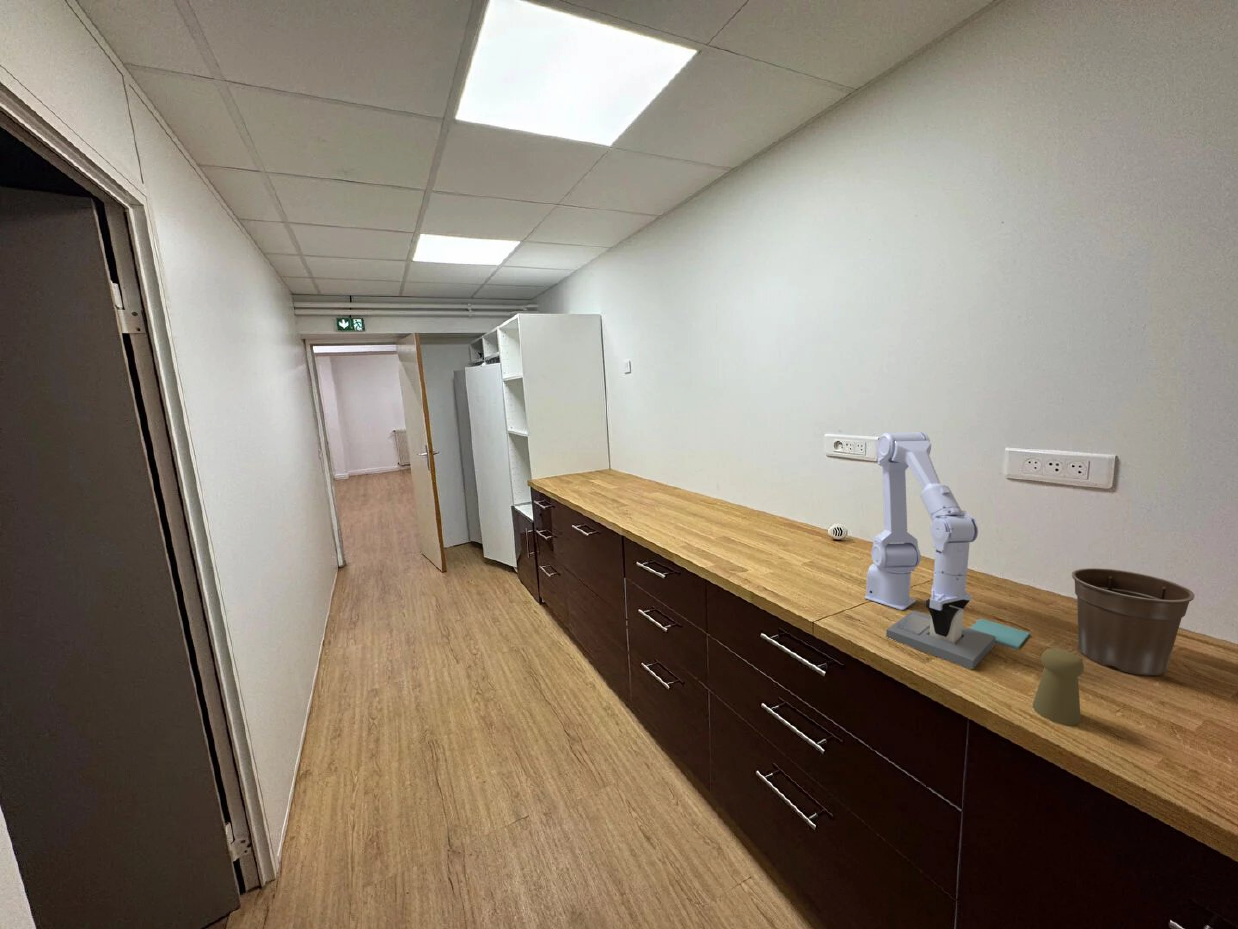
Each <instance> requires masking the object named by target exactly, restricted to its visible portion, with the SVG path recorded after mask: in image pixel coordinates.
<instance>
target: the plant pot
mask: <svg viewBox="0 0 1238 929" xmlns="http://www.w3.org/2000/svg"><path fill="white" fill-rule="evenodd" d="M1071 577H1072V579H1073V580H1074V594H1075V595H1076V598H1077V599H1076V600H1077V604H1076V605H1077V637H1078V638H1077V640H1078V642H1077V647H1078V649H1077V650H1078V651H1079V652H1080V653H1081V654H1082V655H1084V656H1085V657H1086V658H1088V659H1090V660H1091V661H1093V662H1095V663H1098V664H1099V665H1101V666H1104V667H1107V666H1110V667H1111V666H1112V667H1114V668H1116V669H1117V670H1119V672H1124V673H1129V674H1132V675H1139V676H1160V675H1164V674H1165V673H1166V671H1167V670H1168V669H1169V668H1168V667H1169V663H1170V659H1171V657H1172V653H1173V649H1174V646H1175V642H1176V639H1177V635H1178V633H1179V628H1180V625H1181V621H1182V618H1184V617H1185V616H1186V614H1187V610H1188V607H1189V605H1190V602H1192V601H1193V600H1194V599H1195V593H1194V592H1193V591H1192V590H1191V589H1189V588H1188V587H1185V586H1183V585H1180V584H1178V583H1176V582H1174V581H1170V580H1168V579H1164V578H1160V577H1156V576H1151V575H1147V574H1142V573H1139V572H1132V571H1127V570H1126V571H1125V570H1120V569H1112V568H1097V567H1095V568H1093V567H1091V568H1080V569H1075V570H1073V571H1072V572H1071Z"/></svg>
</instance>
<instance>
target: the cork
mask: <svg viewBox="0 0 1238 929" xmlns="http://www.w3.org/2000/svg"><path fill="white" fill-rule="evenodd" d="M1040 656H1041V658H1040V660H1041V664H1042V666H1043V670H1042V674H1041V678H1040V680H1039V684H1038V687H1037V690H1036V693H1035V696H1034V700H1033V703H1032V708H1034V709H1033V710H1034V712H1036V713H1037V714H1038V715H1039V714H1040V715H1039V716H1041V717H1043V718H1044V719H1046V718H1047V719H1046V720H1048V719H1049V720H1048V721H1050V720H1051V721H1050V722H1052V723H1057V724H1059V725H1064V726H1068V727H1069V726H1071V727H1072V726H1073V727H1074V726H1079V725H1080V724H1081V723H1082V718H1081V704H1080V689H1079V688H1080V686H1079V685H1080V684H1079V677H1081V676H1082V675H1083V673H1084V671H1085V666H1084V661H1083V660H1082V659H1081V657H1079V656H1078V655H1076V654H1075V653H1074V652H1070V651H1068V650H1066V649H1065V650H1064V649H1062V648H1047V649H1045V650H1044V651H1043V652H1042V654H1041V655H1040Z"/></svg>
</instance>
